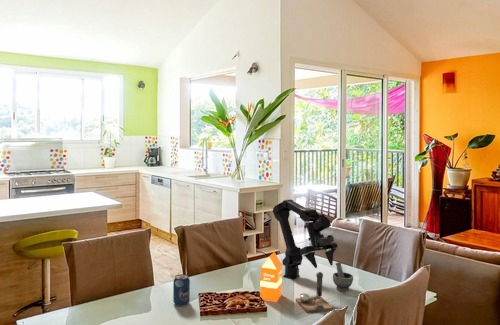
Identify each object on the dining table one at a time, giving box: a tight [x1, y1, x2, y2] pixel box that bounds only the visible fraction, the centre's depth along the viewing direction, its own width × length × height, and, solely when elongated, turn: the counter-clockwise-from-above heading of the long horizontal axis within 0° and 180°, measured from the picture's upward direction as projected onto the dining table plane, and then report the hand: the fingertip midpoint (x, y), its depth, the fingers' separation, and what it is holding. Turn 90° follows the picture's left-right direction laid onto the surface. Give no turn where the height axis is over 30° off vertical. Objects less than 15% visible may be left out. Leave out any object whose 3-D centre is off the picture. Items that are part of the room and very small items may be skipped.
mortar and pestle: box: [332, 261, 354, 293], centre depth 196 cm, size 11×9×12 cm
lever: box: [299, 271, 324, 303], centre depth 178 cm, size 4×12×12 cm, turn 118°
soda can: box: [172, 273, 191, 307], centre depth 175 cm, size 7×7×12 cm
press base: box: [295, 296, 334, 314], centre depth 175 cm, size 13×12×5 cm
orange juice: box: [259, 251, 283, 303], centre depth 184 cm, size 8×9×20 cm
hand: (324, 266), depth 189 cm, fingers open, 9 cm apart
